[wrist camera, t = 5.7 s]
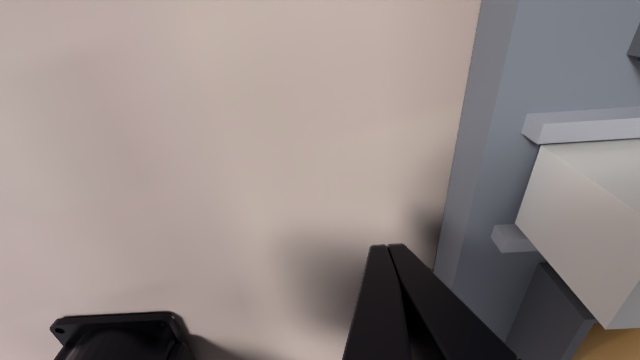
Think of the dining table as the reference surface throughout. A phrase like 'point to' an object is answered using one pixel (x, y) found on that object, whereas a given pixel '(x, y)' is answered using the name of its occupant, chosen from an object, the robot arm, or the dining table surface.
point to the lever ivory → (589, 223)
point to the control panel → (531, 155)
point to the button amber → (609, 344)
